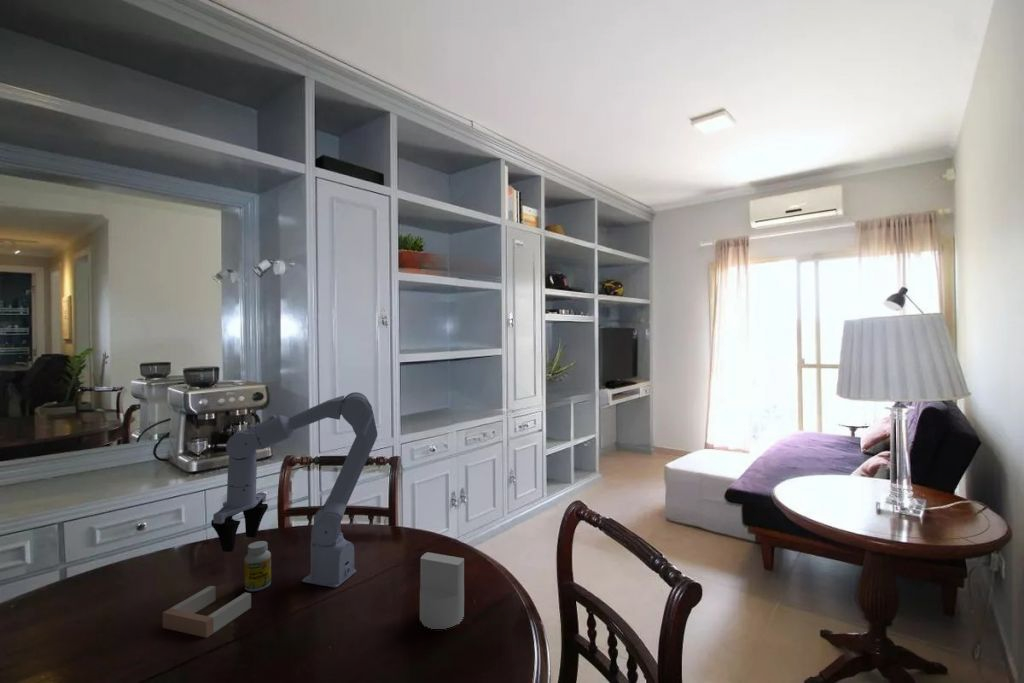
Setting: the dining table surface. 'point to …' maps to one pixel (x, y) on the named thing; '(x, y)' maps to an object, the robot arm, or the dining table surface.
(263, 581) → the supplement bottle
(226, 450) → the robot arm
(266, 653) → the dining table surface
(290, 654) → the dining table surface
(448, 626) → the grey rounded block
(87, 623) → the dining table surface
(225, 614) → the frame
